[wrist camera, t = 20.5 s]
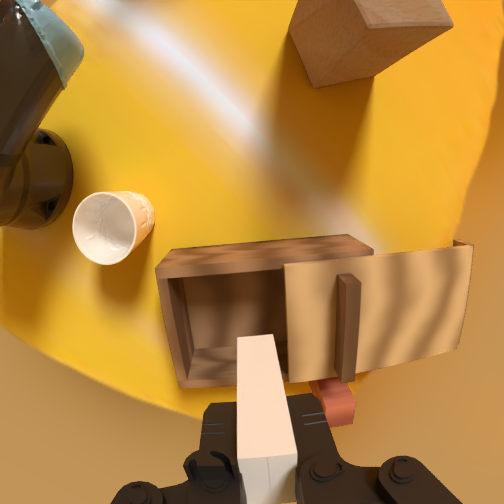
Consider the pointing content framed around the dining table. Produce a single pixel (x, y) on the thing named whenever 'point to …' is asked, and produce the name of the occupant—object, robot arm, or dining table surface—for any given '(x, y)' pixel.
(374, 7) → the wooden block
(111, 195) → the white cup
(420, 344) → the lid
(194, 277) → the toolbox
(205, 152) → the dining table surface
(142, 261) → the dining table surface
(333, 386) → the reddish-brown wooden bar
